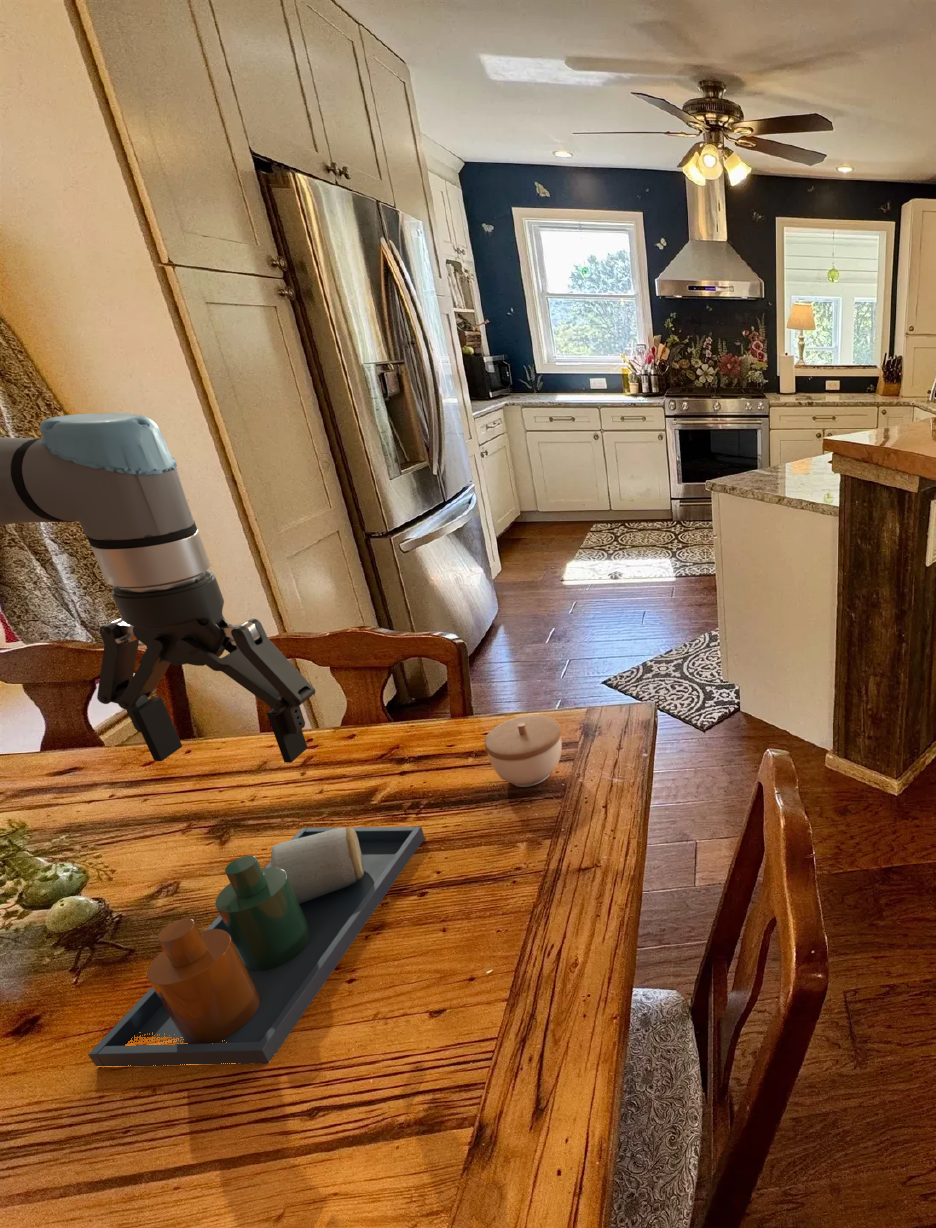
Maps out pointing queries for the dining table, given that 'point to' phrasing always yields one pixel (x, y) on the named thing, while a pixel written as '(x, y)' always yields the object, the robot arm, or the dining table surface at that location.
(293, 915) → the green bottle
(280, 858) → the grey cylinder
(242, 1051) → the tray
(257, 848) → the dining table surface
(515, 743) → the trinket box
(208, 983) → the amber bottle
